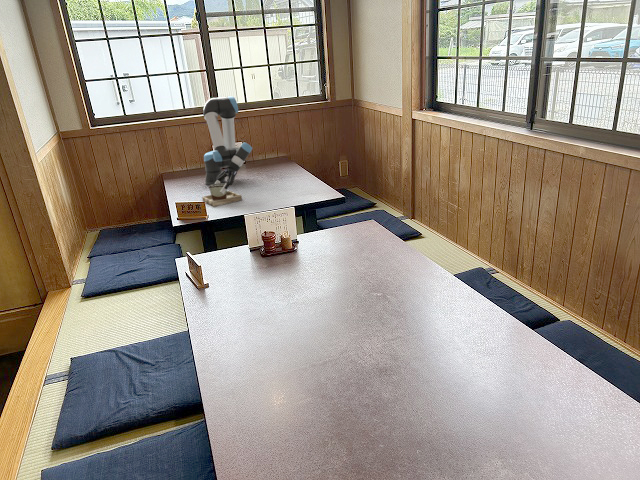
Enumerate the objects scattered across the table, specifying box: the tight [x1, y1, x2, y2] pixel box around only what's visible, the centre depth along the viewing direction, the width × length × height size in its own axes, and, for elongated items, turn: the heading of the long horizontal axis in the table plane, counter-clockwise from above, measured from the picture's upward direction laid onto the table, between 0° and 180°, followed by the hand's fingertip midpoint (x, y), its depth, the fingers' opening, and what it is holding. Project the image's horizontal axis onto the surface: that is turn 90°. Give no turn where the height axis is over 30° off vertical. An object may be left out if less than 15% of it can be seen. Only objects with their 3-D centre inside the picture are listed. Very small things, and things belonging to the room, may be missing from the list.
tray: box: [201, 190, 243, 208], centre depth 317 cm, size 18×20×3 cm
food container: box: [208, 182, 228, 200], centre depth 316 cm, size 12×6×10 cm, turn 87°
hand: (217, 190), depth 313 cm, fingers open, 13 cm apart
